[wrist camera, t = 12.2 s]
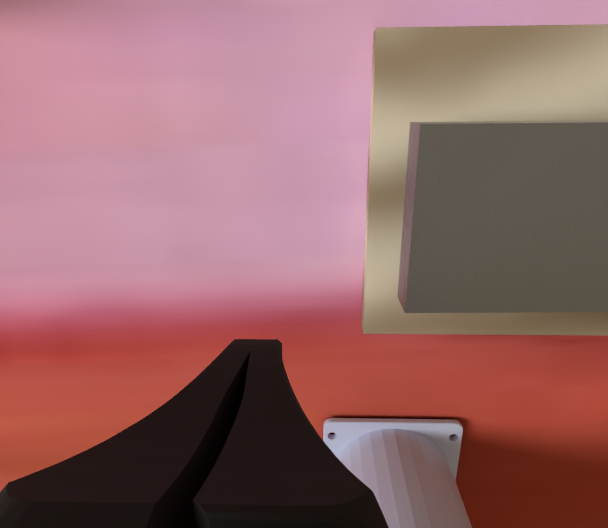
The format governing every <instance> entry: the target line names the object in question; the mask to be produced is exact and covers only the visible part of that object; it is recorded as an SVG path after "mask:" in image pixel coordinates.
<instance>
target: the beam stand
mask: <svg viewBox="0 0 608 528" xmlns="http://www.w3.org/2000/svg"><path fill="white" fill-rule="evenodd" d="M585 120H608V24H606V25H536V26H466V27H396V28H376V30H375V31H374V43H373V66H372V90H371V113H370V137H369V160H368V184H367V207H366V231H365V255H364V278H363V302H362V329H363V334H482V335H608V312H527V313H405V312H404V310H403V308H402V306H401V304H400V302H399V299H398V297H397V294H398V281H399V267H400V253H401V240H402V226H403V212H404V199H405V185H406V171H407V157H408V144H409V130H410V122H470V121H585Z"/></svg>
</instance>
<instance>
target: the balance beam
mask: <svg viewBox="0 0 608 528" xmlns="http://www.w3.org/2000/svg"><path fill="white" fill-rule="evenodd" d="M397 297H398V299H399V302H400V304H401V306H402V308H403V310H404V312H405V313H527V312H608V120H585V121H470V122H410V130H409V144H408V157H407V171H406V185H405V199H404V212H403V226H402V240H401V253H400V267H399V281H398V294H397Z"/></svg>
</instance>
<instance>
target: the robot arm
mask: <svg viewBox="0 0 608 528" xmlns="http://www.w3.org/2000/svg"><path fill="white" fill-rule="evenodd" d="M331 432H333V433H335V434H333V435H330V434H329V433H331ZM452 434H456V435H454V436H450V435H452ZM462 435H463V427H462V425H461V423H460V422H459V421H458V420H448V419H373V418H329V419H327V420H326V421H325V422H324V425H323V440H322V439H321V437H320V436H319V435H318V433H317V432H316V431H315V429H314V428H313V426H312V425H311V423H310V422H309V420H308V418H307V417H306V415H305V413H304V412H303V410H302V408H301V406H300V404H299V402H298V401H297V398H296V396H295V394H294V392H293V390H292V388H291V385H290V383H289V380H288V377H287V374H286V371H285V368H284V365H283V360H282V343H281V342H280V341H279V340H255V339H235V340H234V341H233V342H231V343H230V344H229V345H228V346H227V347H226V348H225V349H224V350H223V351H222V353H221V354H220V355H219V356H218V357H217V358H216V359H215V360H214V361H213V362H212V363H211V364H210V365H209V366H208V367H207V368H206V369H205V370H204V371H202V372H201V373H200V374H199V375H198V376H197V377H196V378H195V379H194V380H193V381H192V382H191V383H189V384H188V385H187V386H186V387H185V388H184V389H182V390H181V391H180V392H179V393H178V394H177V395H175V396H174V397H173V398H172V399H170V400H169V401H168V402H166V403H165V404H164V405H162V406H161V407H159V408H158V409H157V410H155V411H154V412H152V413H151V414H149V415H148V416H146V417H145V418H143V419H142V420H140V421H139V422H137V423H135V424H133V425H132V426H130V427H128V428H127V429H125V430H123V431H122V432H120V433H118V434H117V435H115V436H113V437H111V438H110V439H108V440H106V441H104V442H102V443H100V444H98V445H96V446H94V447H92V448H90V449H88V450H86V451H84V452H82V453H80V454H78V455H76V456H73V457H71V458H69V459H67V460H65V461H62V462H60V463H58V464H55V465H53V466H50V467H48V468H45V469H43V470H40V471H38V472H35V473H33V474H30V475H28V476H25V477H23V478H20V479H17V480H15V481H12V482H9V483H8V484H7V485H6V486H5V487H4V489H3V490H2V491H1V492H0V528H472V526H471V523H470V520H469V517H468V515H467V512H466V509H465V506H464V504H463V501H462V498H461V495H460V493H459V490H458V487H457V484H456V475H457V468H458V462H459V455H460V448H461V441H462Z"/></svg>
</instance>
